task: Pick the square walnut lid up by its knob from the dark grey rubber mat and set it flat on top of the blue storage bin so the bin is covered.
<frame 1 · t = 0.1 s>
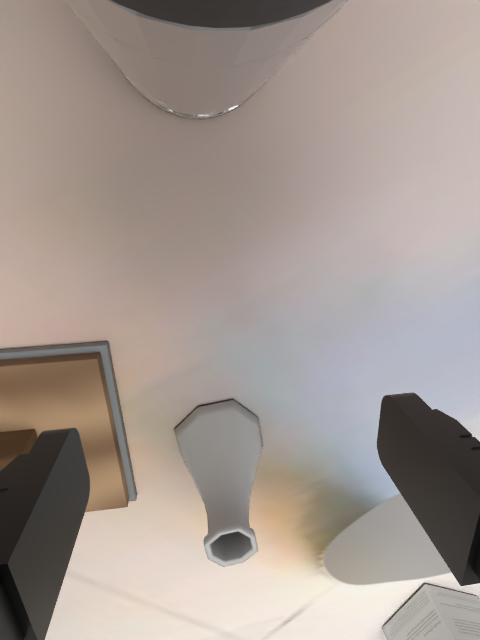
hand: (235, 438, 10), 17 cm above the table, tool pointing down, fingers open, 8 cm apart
rubber mat: (24, 435, 29), on the table
walnut lid: (21, 440, 29), point 1 cm above the table, touching rubber mat
supplement box: (428, 609, 46), on the table
flask: (219, 433, 32), on the table
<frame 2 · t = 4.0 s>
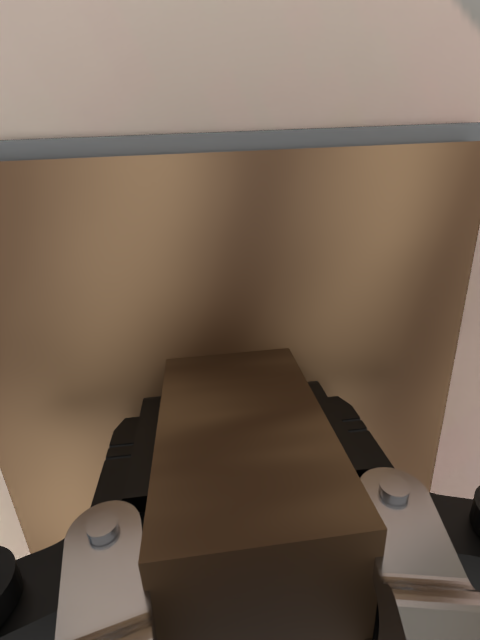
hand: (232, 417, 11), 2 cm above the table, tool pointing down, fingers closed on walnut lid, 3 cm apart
rubber mat: (226, 378, 13), on the table
walnut lid: (228, 387, 12), point 1 cm above the table, touching gripper, rubber mat
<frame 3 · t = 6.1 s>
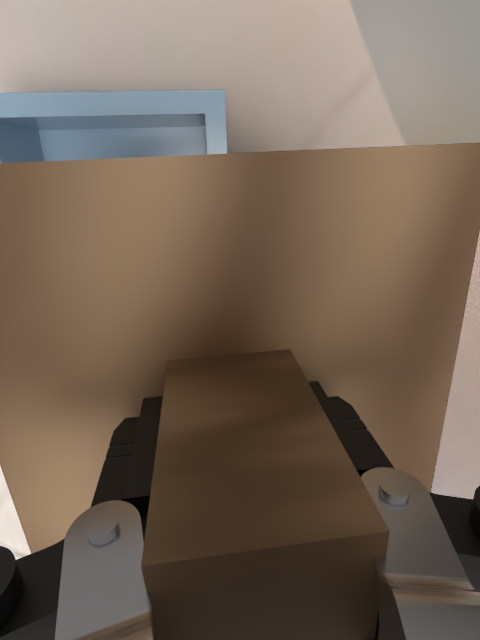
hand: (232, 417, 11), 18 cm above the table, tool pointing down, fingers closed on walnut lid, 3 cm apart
walnut lid: (229, 389, 12), point 17 cm above the table, touching gripper
blue storage bin: (136, 211, 26), on the table
when the fingers open (10 cm above the table, at t = 8.7 s): walnut lid drops 1 cm, resting on blue storage bin.
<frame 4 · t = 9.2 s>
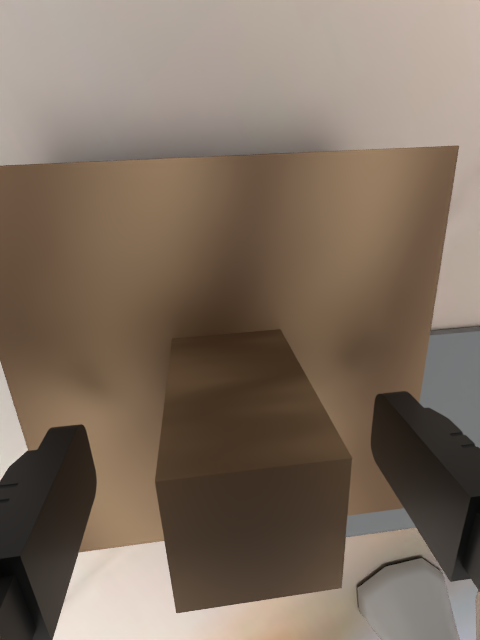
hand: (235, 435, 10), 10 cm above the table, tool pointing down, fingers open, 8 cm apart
rubber mat: (453, 432, 25), on the table
walnut lid: (227, 367, 14), point 6 cm above the table, touching blue storage bin
flask: (397, 585, 30), on the table
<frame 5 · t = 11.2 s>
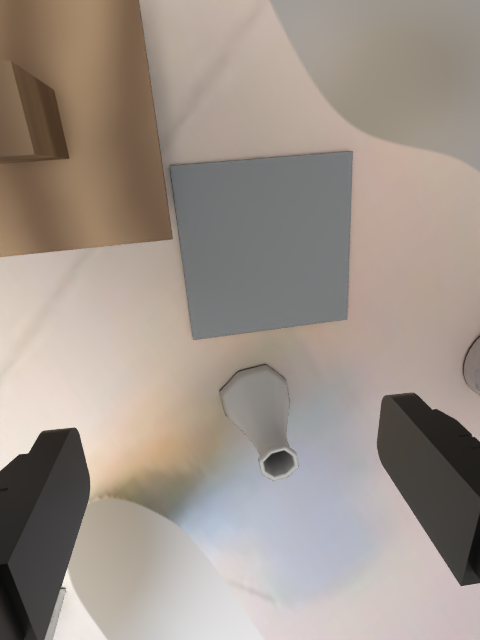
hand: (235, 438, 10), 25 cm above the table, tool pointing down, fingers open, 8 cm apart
rubber mat: (266, 249, 34), on the table
walnut lid: (35, 129, 22), point 6 cm above the table, touching blue storage bin
supplement box: (18, 606, 45), on the table
flask: (254, 394, 39), on the table
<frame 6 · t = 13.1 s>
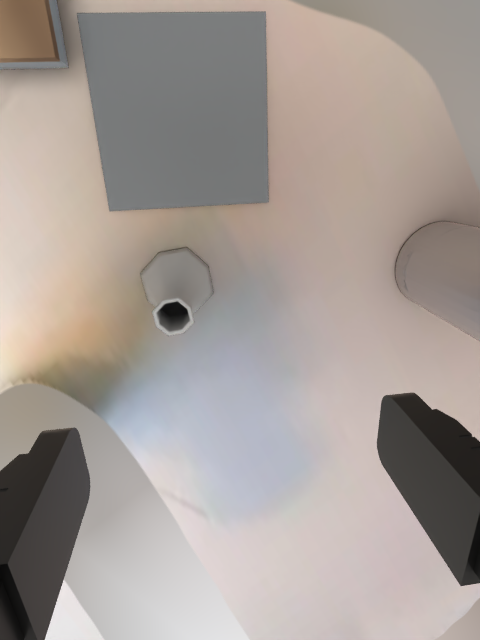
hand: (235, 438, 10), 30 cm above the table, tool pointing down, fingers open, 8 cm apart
rubber mat: (182, 118, 34), on the table
flask: (177, 282, 39), on the table
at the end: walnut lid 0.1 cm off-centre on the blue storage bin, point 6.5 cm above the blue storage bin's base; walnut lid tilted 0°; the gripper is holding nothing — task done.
